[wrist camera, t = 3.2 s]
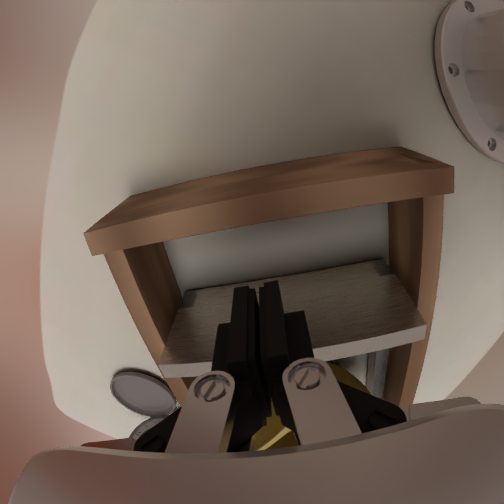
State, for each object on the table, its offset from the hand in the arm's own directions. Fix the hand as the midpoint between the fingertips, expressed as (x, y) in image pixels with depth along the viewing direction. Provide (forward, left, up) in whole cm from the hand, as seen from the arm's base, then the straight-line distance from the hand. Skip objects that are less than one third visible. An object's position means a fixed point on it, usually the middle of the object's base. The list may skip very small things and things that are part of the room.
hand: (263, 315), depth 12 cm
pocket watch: (+14, +15, -9) cm, 22 cm away
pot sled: (-1, +11, -8) cm, 13 cm away
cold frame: (-1, +7, -8) cm, 11 cm away
